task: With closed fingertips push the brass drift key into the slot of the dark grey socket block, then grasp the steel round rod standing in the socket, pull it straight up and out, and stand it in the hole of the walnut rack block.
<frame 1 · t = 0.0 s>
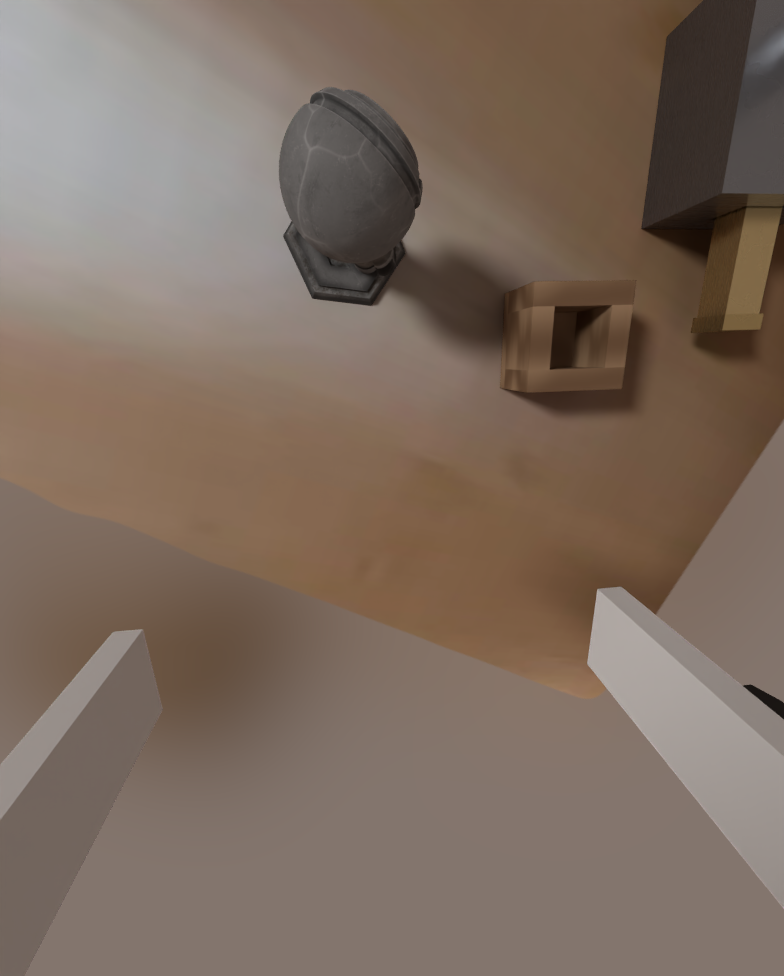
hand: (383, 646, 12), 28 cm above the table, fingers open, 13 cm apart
socket: (719, 147, 35), on the table
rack: (544, 341, 38), on the table
figurine: (345, 245, 34), on the table
drift key: (735, 271, 34), point 4 cm above the table, slide at 5.0 cm
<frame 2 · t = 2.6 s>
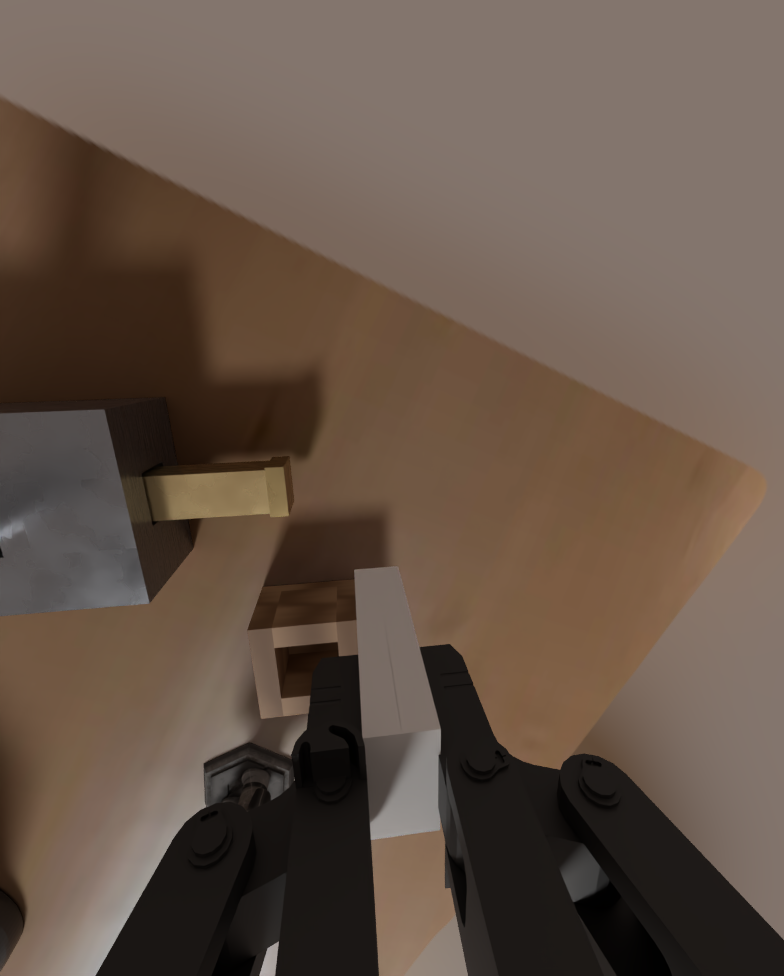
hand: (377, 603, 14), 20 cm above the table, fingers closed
socket: (96, 481, 31), on the table
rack: (314, 622, 37), on the table
figurine: (250, 779, 41), on the table
drift key: (220, 489, 28), point 4 cm above the table, slide at 5.0 cm
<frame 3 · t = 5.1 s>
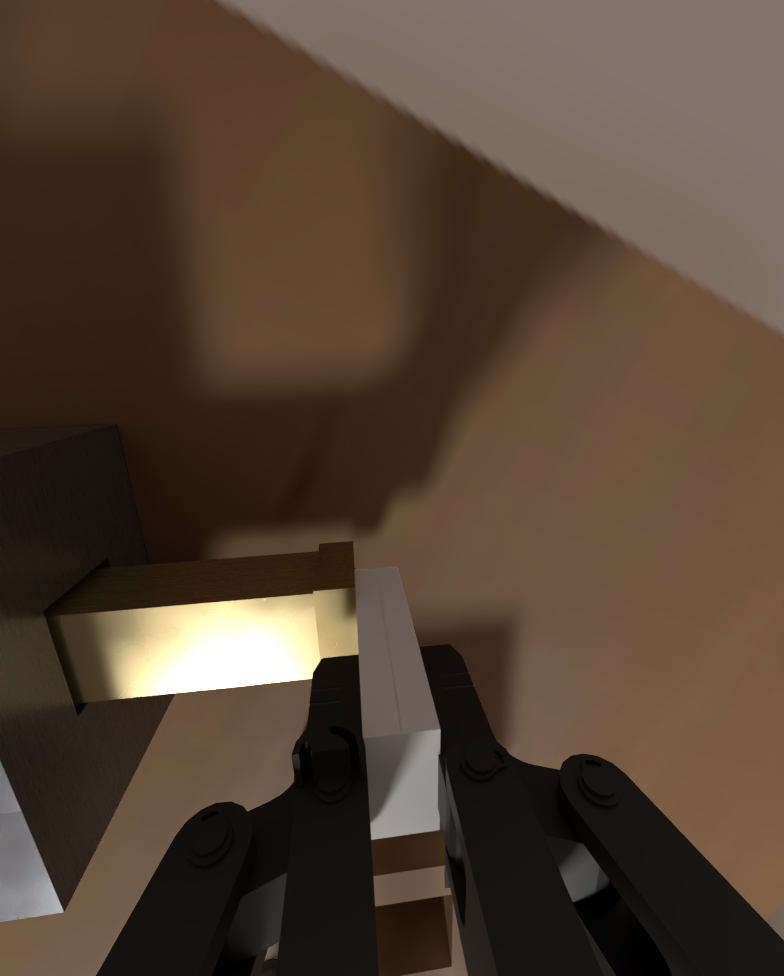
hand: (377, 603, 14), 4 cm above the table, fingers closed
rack: (382, 790, 22), on the table
drift key: (216, 619, 13), point 4 cm above the table, slide at 4.6 cm, touching gripper
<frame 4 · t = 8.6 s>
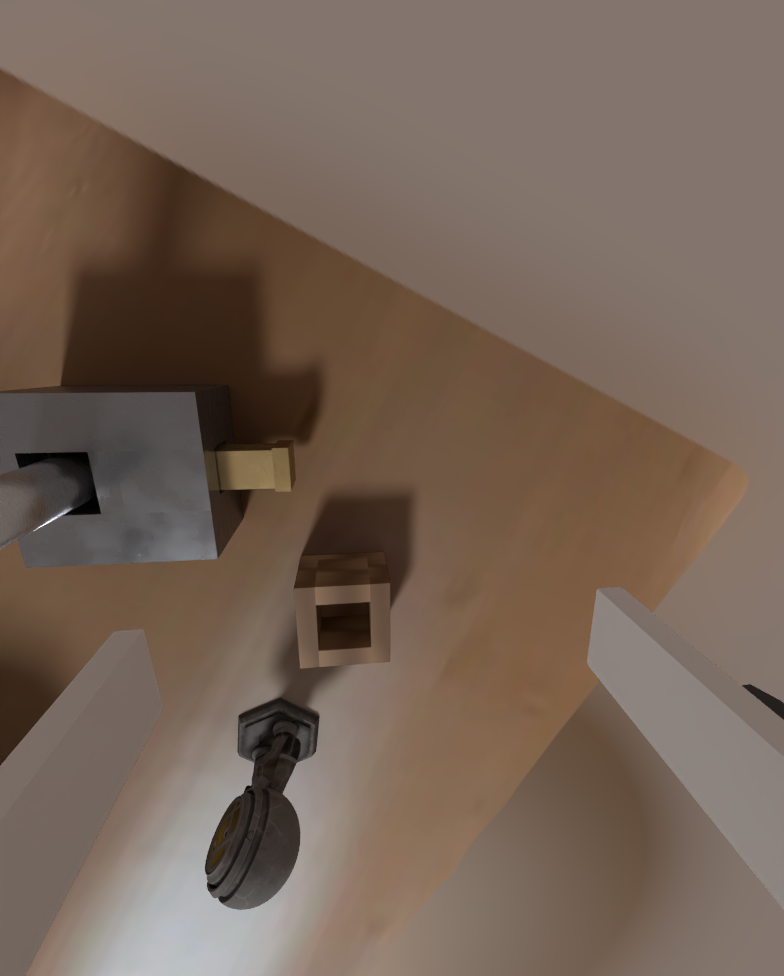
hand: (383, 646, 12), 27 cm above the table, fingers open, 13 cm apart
socket: (163, 456, 36), on the table
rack: (344, 590, 41), on the table
steel round rod: (114, 460, 34), point 1 cm above the table, touching socket
figurine: (278, 732, 46), on the table
drift key: (232, 466, 32), point 4 cm above the table, slide at 1.6 cm
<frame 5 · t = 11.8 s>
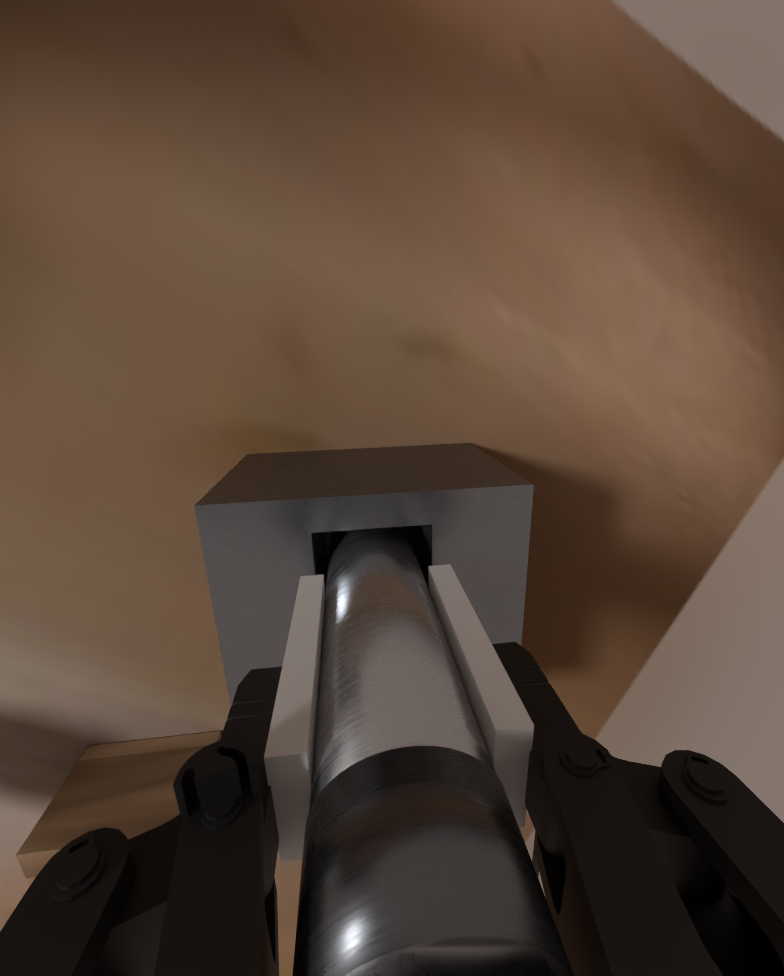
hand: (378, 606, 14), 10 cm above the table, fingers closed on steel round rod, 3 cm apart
socket: (367, 565, 24), on the table
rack: (167, 784, 27), on the table
steel round rod: (365, 515, 22), point 1 cm above the table, touching gripper, socket
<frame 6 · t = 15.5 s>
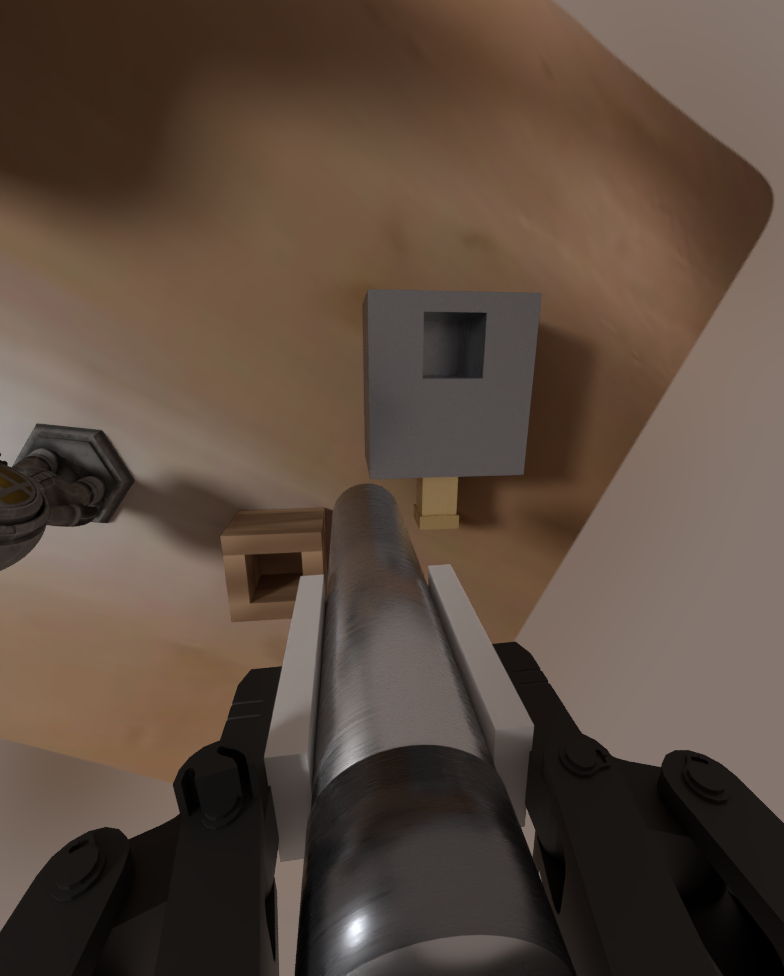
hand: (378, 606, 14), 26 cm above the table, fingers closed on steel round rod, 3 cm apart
socket: (430, 389, 37), on the table
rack: (285, 547, 40), on the table
steel round rod: (366, 515, 22), point 17 cm above the table, touching gripper
figurine: (75, 474, 36), on the table
drift key: (437, 472, 36), point 4 cm above the table, slide at 1.6 cm
when the fingers open (11 cm above the table, at t = 19.2 s): steel round rod drops 1 cm, resting on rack.
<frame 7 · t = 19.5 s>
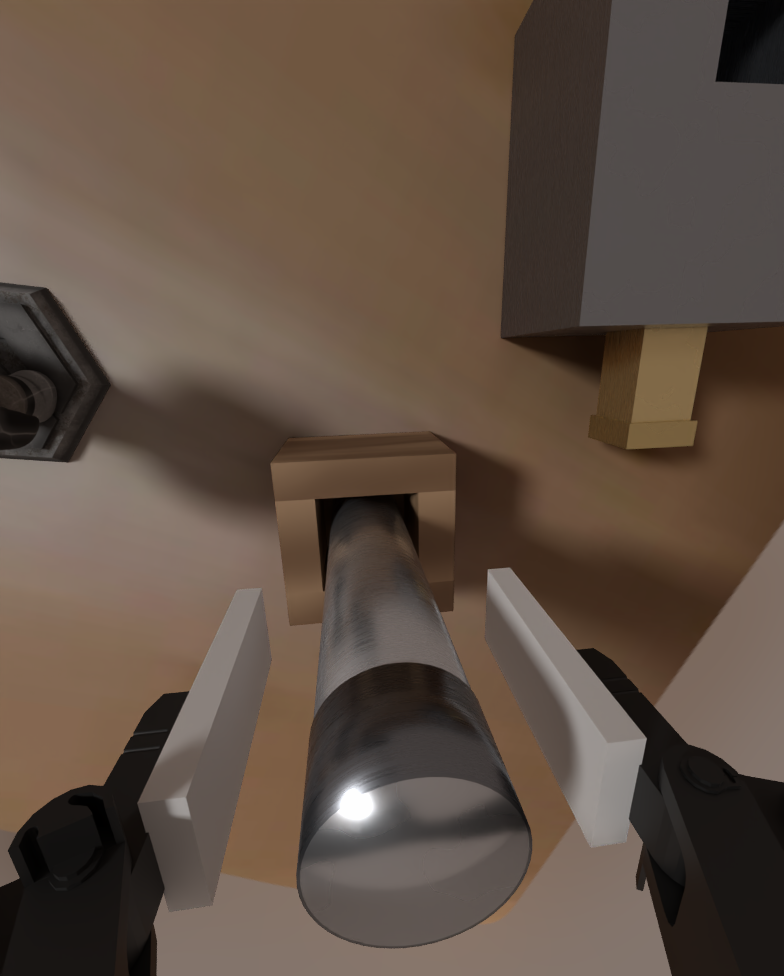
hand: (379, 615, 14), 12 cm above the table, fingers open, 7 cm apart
socket: (617, 212, 22), on the table
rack: (363, 501, 25), on the table
steel round rod: (364, 507, 24), point 1 cm above the table, touching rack
figurine: (6, 375, 21), on the table
drift key: (651, 346, 20), point 4 cm above the table, slide at 1.6 cm
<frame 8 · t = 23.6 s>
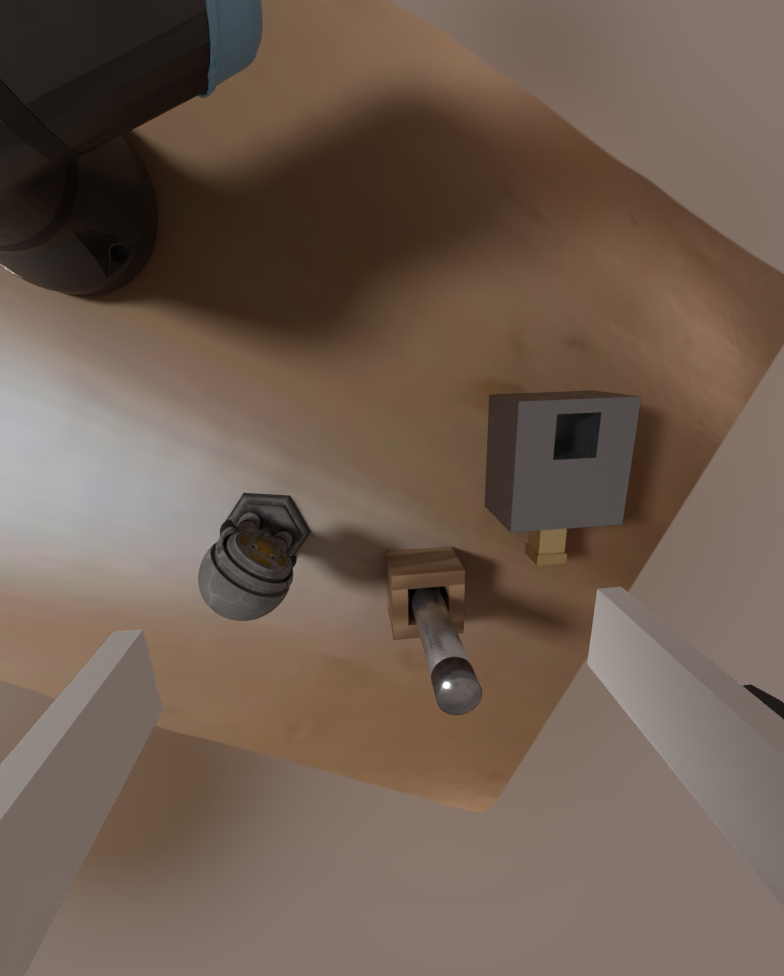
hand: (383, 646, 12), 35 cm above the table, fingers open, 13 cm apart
socket: (536, 454, 48), on the table
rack: (419, 578, 51), on the table
steel round rod: (420, 582, 50), point 1 cm above the table, touching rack
figurine: (266, 529, 47), on the table
drift key: (548, 520, 46), point 4 cm above the table, slide at 1.6 cm
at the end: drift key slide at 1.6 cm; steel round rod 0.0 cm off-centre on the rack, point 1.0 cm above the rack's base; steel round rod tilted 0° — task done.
